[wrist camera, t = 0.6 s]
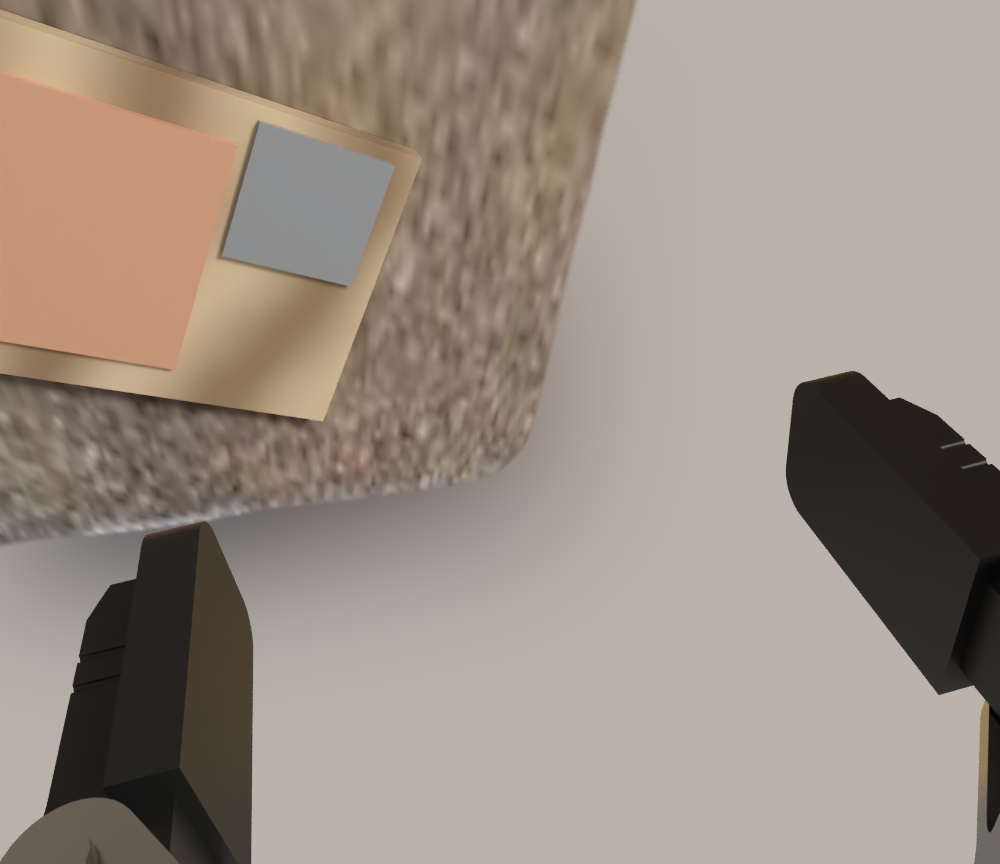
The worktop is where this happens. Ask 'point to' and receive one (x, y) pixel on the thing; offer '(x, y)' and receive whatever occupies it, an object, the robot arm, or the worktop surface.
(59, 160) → the terracotta pad
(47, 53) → the oak board
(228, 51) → the worktop surface
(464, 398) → the worktop surface
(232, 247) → the slate tile
